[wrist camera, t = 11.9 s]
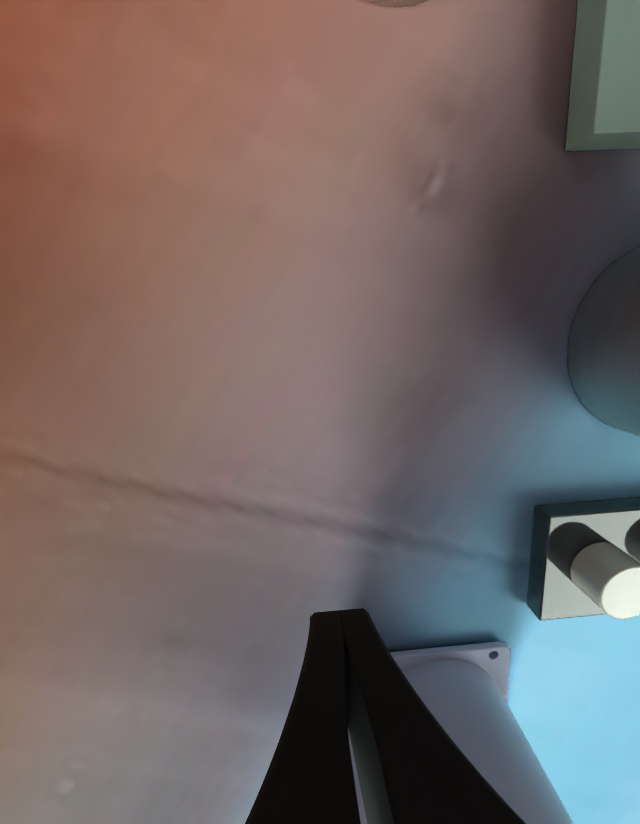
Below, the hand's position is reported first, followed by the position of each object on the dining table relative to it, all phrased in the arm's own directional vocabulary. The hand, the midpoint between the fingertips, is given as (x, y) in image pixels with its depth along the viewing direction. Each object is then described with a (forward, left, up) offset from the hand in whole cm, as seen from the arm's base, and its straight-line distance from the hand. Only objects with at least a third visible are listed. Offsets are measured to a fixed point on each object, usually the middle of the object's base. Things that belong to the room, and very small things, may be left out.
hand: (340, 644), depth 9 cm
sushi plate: (+16, -5, -9) cm, 19 cm away
